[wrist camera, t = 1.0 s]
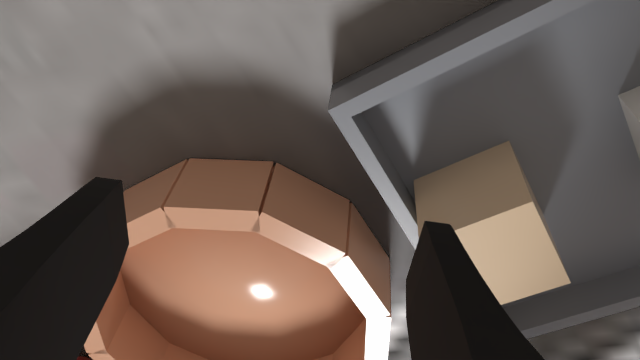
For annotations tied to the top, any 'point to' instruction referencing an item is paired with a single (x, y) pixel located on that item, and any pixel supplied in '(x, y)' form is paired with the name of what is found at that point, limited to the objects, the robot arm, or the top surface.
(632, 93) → the pale cube
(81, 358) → the onion
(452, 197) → the beige cardboard cube
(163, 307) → the bowl
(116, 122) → the top surface
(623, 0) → the parts tray
